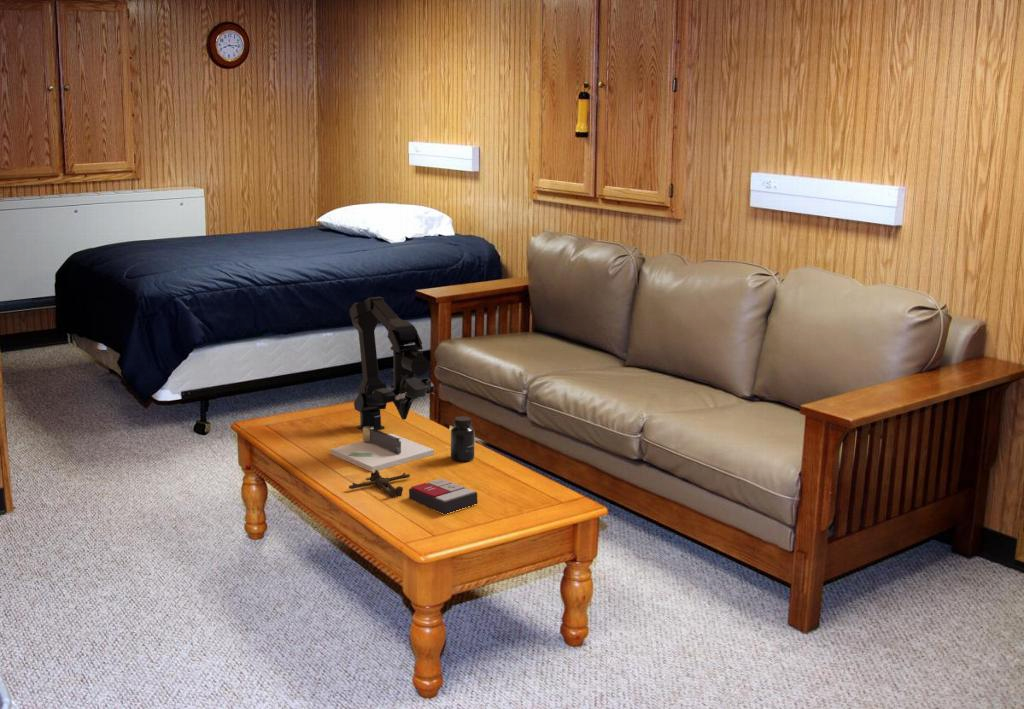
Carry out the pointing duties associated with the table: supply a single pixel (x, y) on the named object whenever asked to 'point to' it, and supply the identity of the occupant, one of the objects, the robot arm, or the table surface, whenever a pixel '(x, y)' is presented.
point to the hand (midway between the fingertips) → (403, 419)
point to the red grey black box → (443, 495)
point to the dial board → (381, 454)
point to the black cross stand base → (383, 483)
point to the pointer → (381, 439)
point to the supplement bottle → (462, 440)
